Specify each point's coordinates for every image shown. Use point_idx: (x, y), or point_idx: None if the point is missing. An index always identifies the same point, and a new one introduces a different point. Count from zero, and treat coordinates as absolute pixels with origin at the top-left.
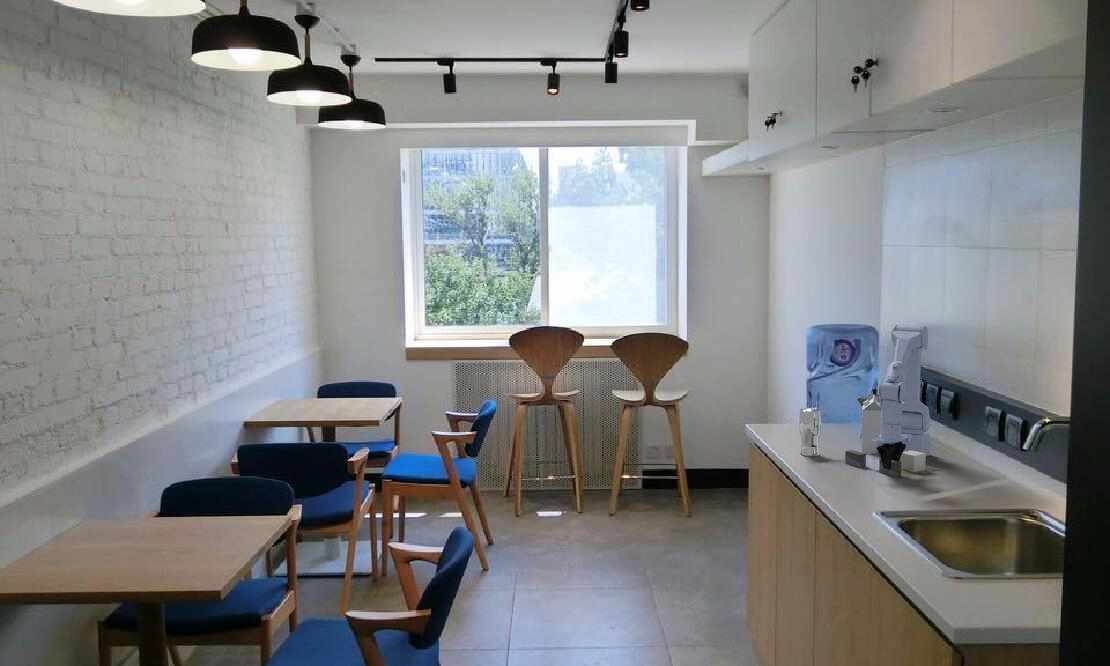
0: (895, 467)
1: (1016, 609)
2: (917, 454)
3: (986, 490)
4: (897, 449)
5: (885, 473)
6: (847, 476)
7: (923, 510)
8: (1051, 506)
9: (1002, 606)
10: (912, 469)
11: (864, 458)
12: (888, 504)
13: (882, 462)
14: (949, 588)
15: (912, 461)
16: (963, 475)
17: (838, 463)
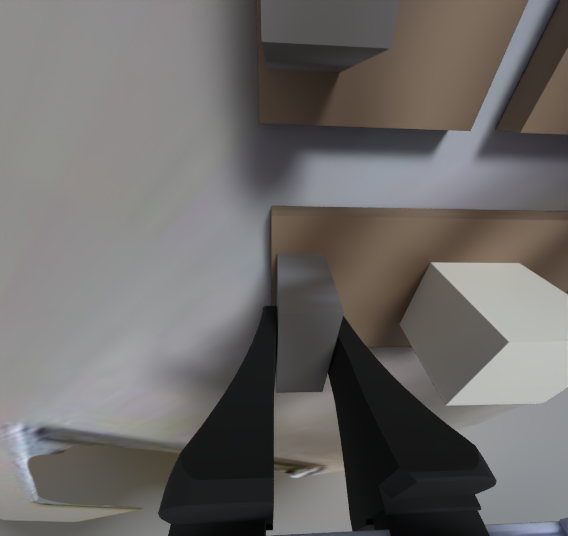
0: (276, 368)
1: (67, 517)
2: (493, 399)
3: None
4: (349, 467)
5: (276, 289)
6: (89, 129)
7: (147, 440)
8: None
9: (58, 516)
10: (406, 330)
11: (340, 59)
12: (88, 412)
13: (257, 334)
14: (24, 508)
15: (429, 364)
16: None
17: None
